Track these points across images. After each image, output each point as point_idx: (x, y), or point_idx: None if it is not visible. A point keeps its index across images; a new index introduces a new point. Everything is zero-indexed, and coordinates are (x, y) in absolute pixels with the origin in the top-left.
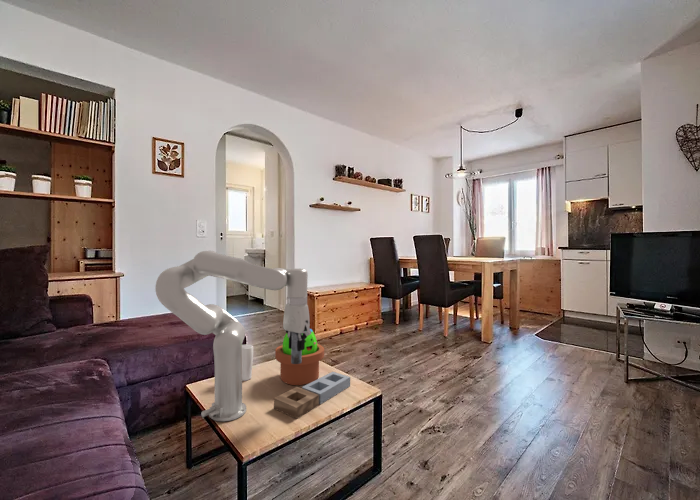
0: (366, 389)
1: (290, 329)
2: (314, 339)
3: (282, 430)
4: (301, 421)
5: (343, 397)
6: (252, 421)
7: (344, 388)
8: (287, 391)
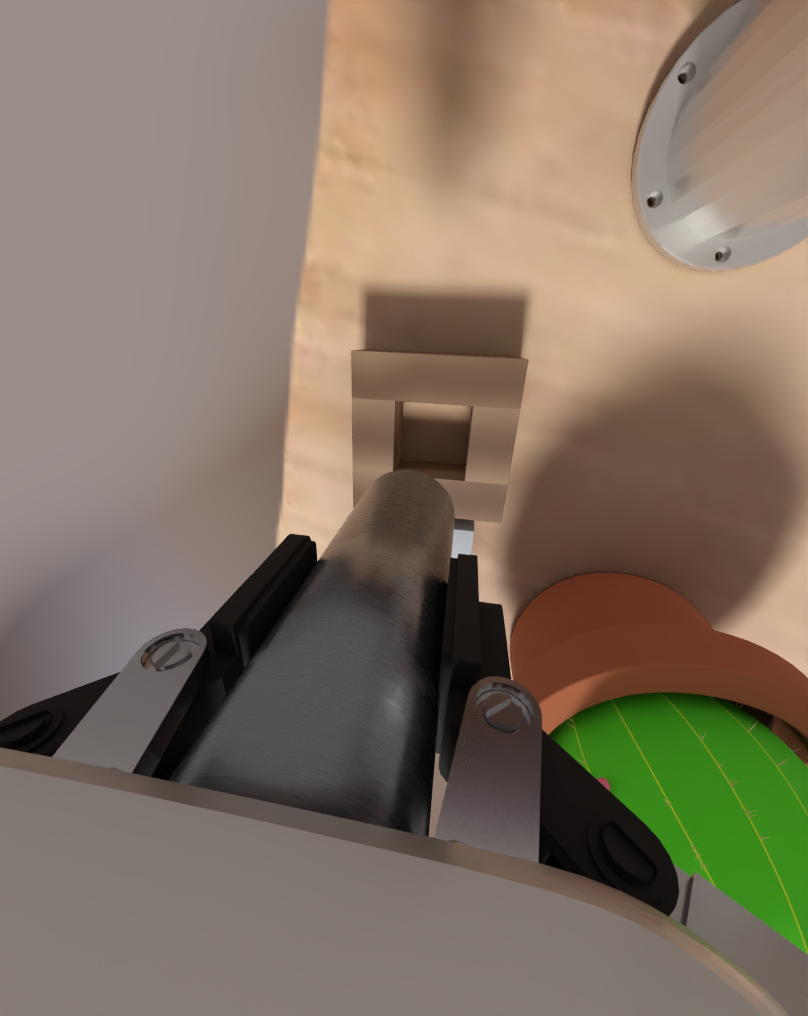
0: None
1: (240, 904)
2: None
3: (347, 229)
4: (334, 346)
5: None
6: (534, 183)
7: None
8: (509, 459)
